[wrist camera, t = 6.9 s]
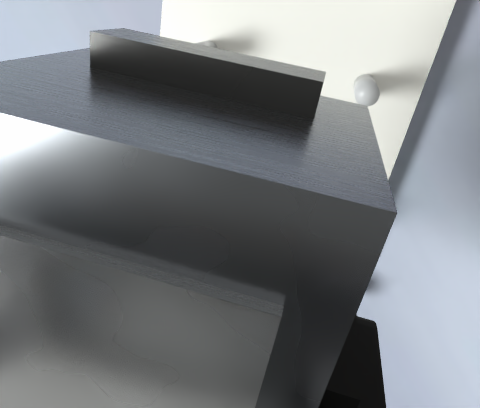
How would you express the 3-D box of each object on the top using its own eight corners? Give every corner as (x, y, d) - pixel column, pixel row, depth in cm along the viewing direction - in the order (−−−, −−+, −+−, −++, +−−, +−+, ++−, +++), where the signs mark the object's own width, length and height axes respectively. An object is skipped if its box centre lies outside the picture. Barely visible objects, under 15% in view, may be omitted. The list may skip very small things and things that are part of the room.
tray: (464, -36, 17) (490, -45, 14) (342, 290, 26) (343, 328, 22) (177, -86, 19) (145, -105, 16) (151, 236, 27) (126, 265, 24)
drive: (376, 76, 8) (425, 162, 4) (269, 412, 13) (229, 632, 8) (100, 17, 9) (-159, 26, 4) (97, 357, 14) (-26, 532, 9)
